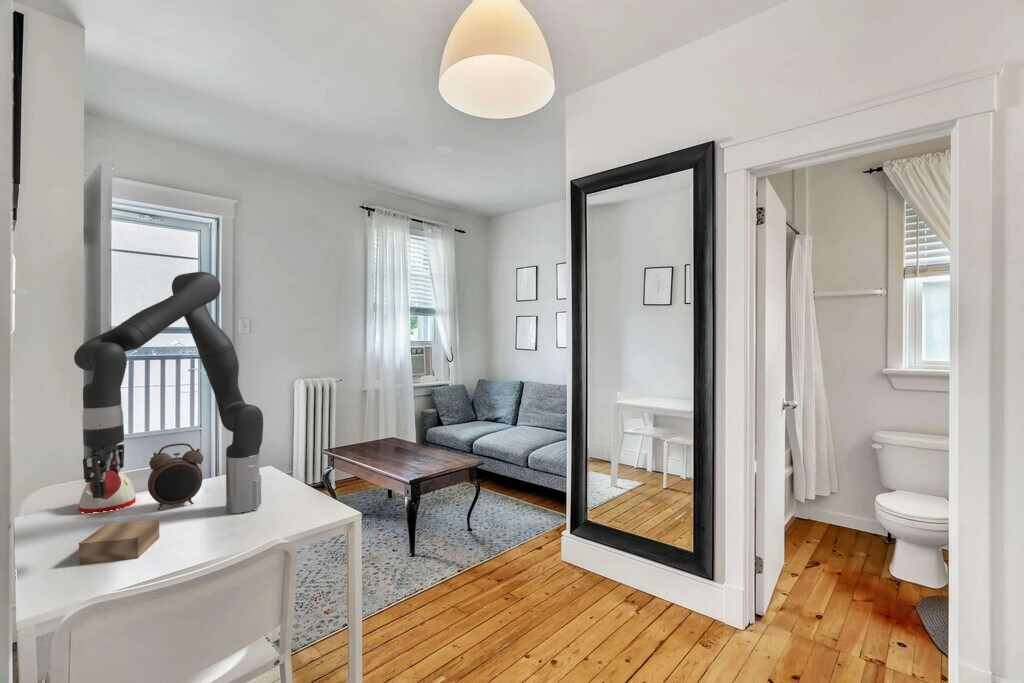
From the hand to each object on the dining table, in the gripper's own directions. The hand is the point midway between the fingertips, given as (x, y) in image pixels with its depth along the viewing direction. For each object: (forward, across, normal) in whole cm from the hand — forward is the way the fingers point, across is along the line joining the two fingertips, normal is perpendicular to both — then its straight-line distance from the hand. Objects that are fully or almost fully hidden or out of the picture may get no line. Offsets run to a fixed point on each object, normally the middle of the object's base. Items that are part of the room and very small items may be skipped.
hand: (106, 492), depth 116 cm
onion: (+2, 0, 0) cm, 2 cm away
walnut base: (+17, +5, -1) cm, 17 cm away
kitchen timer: (+17, +43, +19) cm, 50 cm away
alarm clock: (+18, +37, -2) cm, 41 cm away
